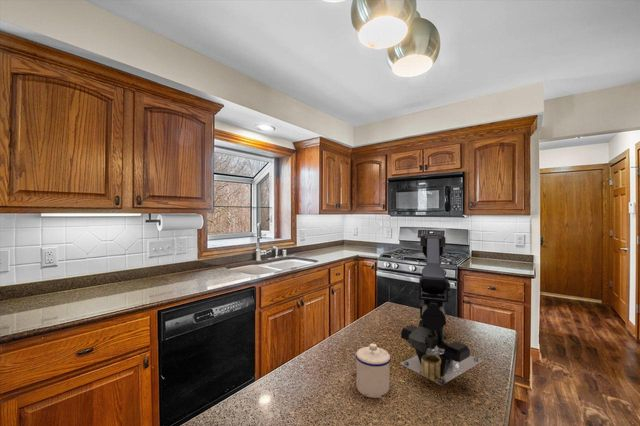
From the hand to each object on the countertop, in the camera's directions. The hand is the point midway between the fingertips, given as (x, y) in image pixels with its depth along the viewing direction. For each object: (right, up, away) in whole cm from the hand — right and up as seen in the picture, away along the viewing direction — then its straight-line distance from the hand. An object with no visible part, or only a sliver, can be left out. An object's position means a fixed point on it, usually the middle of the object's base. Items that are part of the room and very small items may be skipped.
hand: (432, 371), depth 84 cm
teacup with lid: (-19, -1, -5) cm, 20 cm away
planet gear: (0, 0, 0) cm, 0 cm away
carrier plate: (+5, -1, +6) cm, 8 cm away
